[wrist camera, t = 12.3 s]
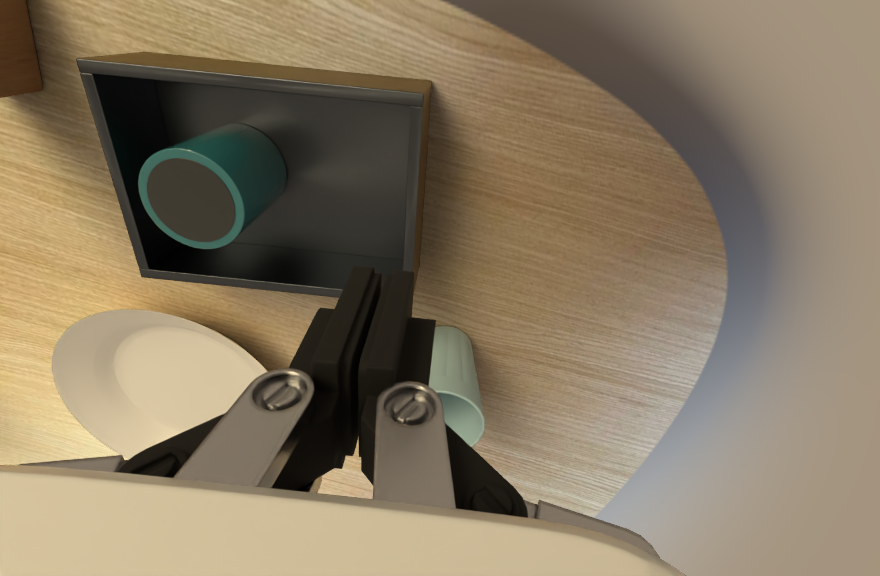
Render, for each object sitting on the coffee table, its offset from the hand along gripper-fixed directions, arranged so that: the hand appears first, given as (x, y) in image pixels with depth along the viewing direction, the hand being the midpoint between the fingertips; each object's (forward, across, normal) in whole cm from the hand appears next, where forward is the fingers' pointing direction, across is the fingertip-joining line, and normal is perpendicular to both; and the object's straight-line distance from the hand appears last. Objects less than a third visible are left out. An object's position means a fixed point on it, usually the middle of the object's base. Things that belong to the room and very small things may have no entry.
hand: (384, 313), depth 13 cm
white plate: (+26, +25, +31) cm, 48 cm away
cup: (+26, -3, +22) cm, 34 cm away
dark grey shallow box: (+26, +12, +5) cm, 29 cm away
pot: (+25, +16, +5) cm, 30 cm away
